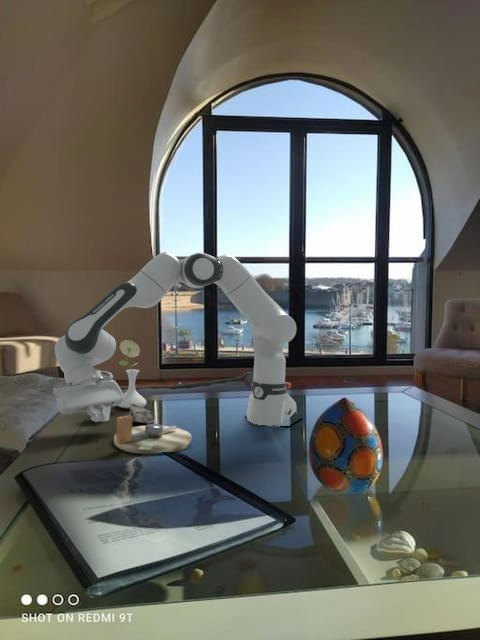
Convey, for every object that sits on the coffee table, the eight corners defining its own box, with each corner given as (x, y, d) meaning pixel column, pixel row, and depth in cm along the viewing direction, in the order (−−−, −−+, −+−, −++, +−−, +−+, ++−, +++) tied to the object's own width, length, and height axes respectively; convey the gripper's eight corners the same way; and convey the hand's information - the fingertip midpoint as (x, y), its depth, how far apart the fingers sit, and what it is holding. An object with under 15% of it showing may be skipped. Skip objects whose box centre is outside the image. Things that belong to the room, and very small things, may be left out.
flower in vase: (152, 407, 170) (156, 341, 169) (130, 412, 161) (133, 342, 159) (128, 401, 177) (131, 338, 176) (105, 406, 167) (108, 339, 166)
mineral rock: (156, 426, 145) (156, 413, 145) (130, 427, 143) (131, 413, 143) (151, 415, 160) (152, 402, 159) (128, 415, 157) (129, 403, 157)
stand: (157, 426, 146) (157, 421, 146) (207, 442, 132) (207, 437, 132) (97, 440, 128) (98, 434, 128) (148, 460, 115) (148, 454, 115)
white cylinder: (91, 422, 145) (92, 401, 145) (87, 417, 151) (88, 396, 151) (112, 421, 148) (113, 400, 148) (108, 416, 154) (109, 395, 154)
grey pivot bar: (169, 427, 138) (170, 404, 138) (181, 431, 135) (182, 408, 135) (111, 441, 122) (113, 416, 122) (123, 446, 119) (124, 420, 118)
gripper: (55, 378, 127) (72, 420, 121) (116, 372, 143) (134, 408, 137) (46, 391, 130) (63, 433, 124) (107, 384, 146) (124, 420, 140)
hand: (101, 420), depth 131 cm, fingers closed
